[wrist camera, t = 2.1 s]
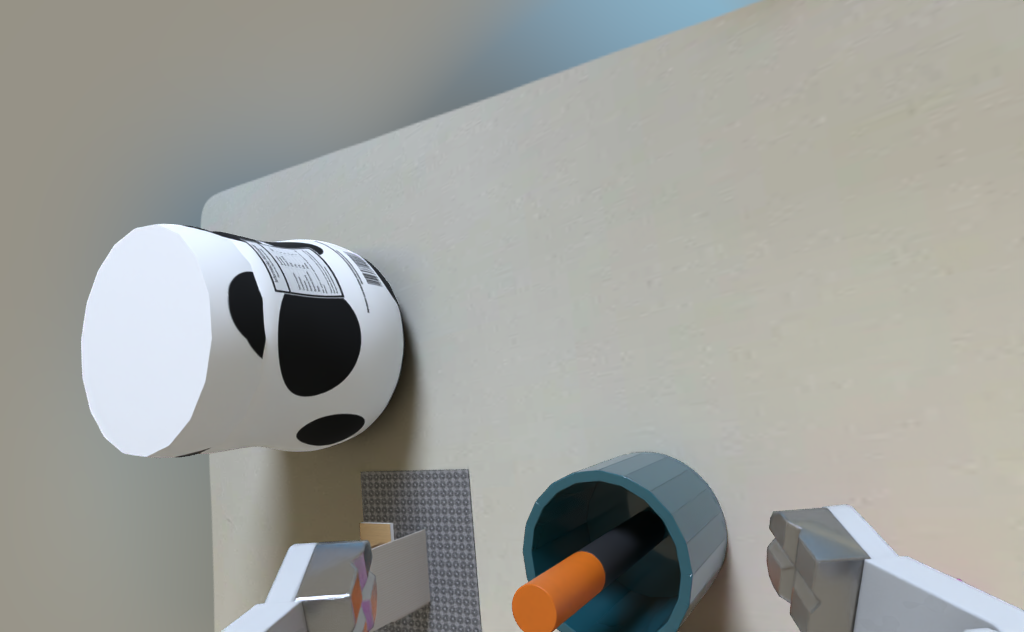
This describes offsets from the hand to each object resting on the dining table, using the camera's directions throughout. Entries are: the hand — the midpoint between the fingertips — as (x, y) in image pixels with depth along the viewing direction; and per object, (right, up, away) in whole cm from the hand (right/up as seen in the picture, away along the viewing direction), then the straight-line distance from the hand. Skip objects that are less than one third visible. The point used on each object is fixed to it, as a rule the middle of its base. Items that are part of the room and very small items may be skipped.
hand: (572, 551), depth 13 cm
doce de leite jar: (-16, +2, +43) cm, 46 cm away
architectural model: (-9, -15, +37) cm, 41 cm away
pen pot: (+8, -9, +28) cm, 30 cm away
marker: (+8, -9, +27) cm, 30 cm away
